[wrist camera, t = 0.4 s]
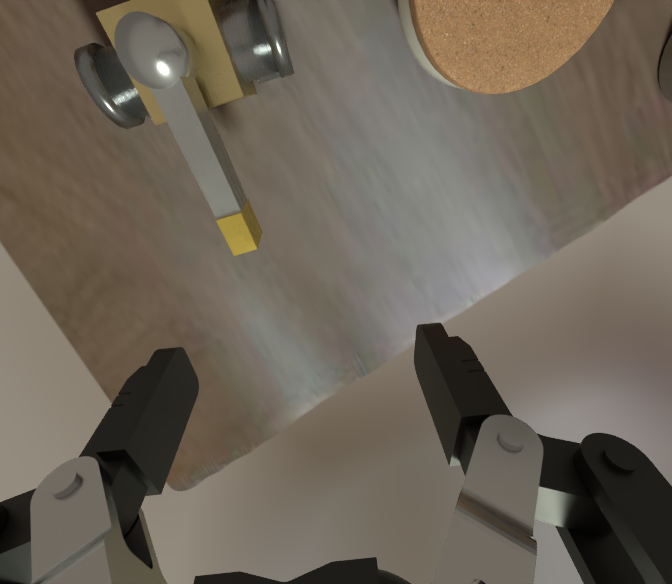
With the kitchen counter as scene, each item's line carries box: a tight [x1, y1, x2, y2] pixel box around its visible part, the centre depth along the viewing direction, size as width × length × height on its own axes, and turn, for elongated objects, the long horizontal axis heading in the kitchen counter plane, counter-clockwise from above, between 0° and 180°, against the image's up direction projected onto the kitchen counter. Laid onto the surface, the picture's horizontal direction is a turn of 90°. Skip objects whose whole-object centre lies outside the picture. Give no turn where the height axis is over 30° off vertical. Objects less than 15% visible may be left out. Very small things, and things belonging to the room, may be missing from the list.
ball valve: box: [74, 0, 294, 129], centre depth 23 cm, size 14×6×8 cm, turn 105°
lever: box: [114, 11, 262, 256], centre depth 21 cm, size 14×3×3 cm, turn 15°
